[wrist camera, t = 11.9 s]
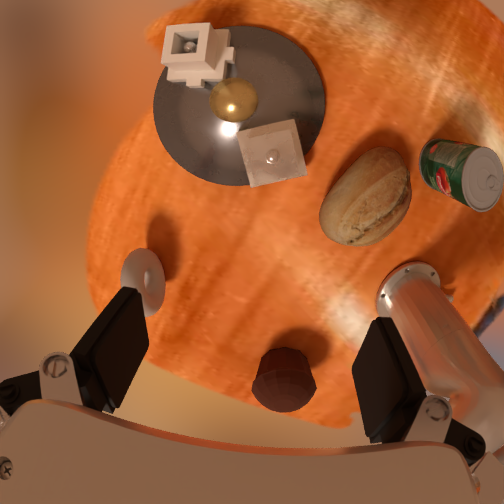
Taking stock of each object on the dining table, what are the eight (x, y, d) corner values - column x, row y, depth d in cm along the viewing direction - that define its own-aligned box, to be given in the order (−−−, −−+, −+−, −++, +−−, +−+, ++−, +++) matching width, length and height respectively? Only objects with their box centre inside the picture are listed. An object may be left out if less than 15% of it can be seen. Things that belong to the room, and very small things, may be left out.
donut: (138, 238, 40) (107, 268, 31) (158, 236, 40) (128, 267, 31) (156, 293, 45) (132, 330, 36) (174, 292, 44) (153, 331, 35)
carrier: (329, 38, 27) (345, 15, 18) (312, 193, 36) (323, 212, 28) (165, 32, 27) (138, 11, 19) (153, 178, 36) (123, 193, 28)
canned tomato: (414, 183, 34) (456, 204, 24) (423, 131, 30) (468, 137, 20) (452, 194, 34) (495, 217, 24) (461, 147, 30) (508, 158, 20)
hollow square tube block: (239, 28, 26) (231, 7, 20) (231, 88, 30) (222, 78, 23) (173, 31, 26) (153, 14, 20) (165, 88, 30) (142, 81, 24)
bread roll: (413, 174, 33) (442, 186, 26) (352, 251, 39) (367, 278, 32) (366, 129, 32) (389, 130, 24) (301, 214, 37) (308, 235, 30)
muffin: (245, 347, 48) (240, 390, 39) (306, 335, 46) (311, 379, 37) (264, 385, 53) (262, 425, 44) (317, 375, 51) (322, 415, 42)
